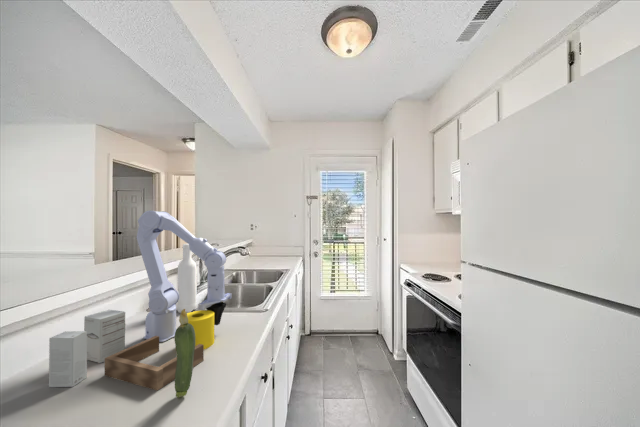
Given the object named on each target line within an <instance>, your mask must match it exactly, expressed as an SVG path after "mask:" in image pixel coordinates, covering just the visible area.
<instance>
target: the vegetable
mask: <svg viewBox="0 0 640 427" xmlns="http://www.w3.org/2000/svg"><path fill="white" fill-rule="evenodd" d="M178 321H179V324H180V325H179V326H177V327H176V332H175V337H174V344H175V345H174V346H175V351H176V357H177V366H176V372H175V379H174V390H175V397H176V398H178V399H179V398H181V397H185V396H186V395H187V393H188V390H189V389H190V387H191V381H192V378H193V377H192V376H193V369H194V367H193V359H194V351H195V330H194V327H193V326H192V325H191V324H189V323H188V317H187V312H186V311H185V309H183V310H182V312H181V313H180V314H179V319H178Z"/></svg>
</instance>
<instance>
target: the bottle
mask: <svg viewBox="0 0 640 427" xmlns="http://www.w3.org/2000/svg"><path fill="white" fill-rule="evenodd" d="M181 248H182V260H181V261H180V262H179V263H178V265H177V291H178V293H179V300H178V302H177V303H176V310H177V313H180V314H181V312H182V310H183V309H185V311H186V312H187V313H190V312H191V311H192V310H193V309H196V310H197V306H198V301H197V300H198V299H197V298H198V297H197V295H198V294H197V293H198V292H197V285H198V284H197V282H198V281H197V280H198V279H197V277H198V276H197V268H198V267H197V263H196V262H195V260H193V258H192V254H193V252H192V251H190V249H189V244H188V243H183V244H182V247H181Z"/></svg>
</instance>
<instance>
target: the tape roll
mask: <svg viewBox="0 0 640 427" xmlns="http://www.w3.org/2000/svg"><path fill="white" fill-rule="evenodd" d="M187 317H188V323H189V324H191V325H192V326H193V327H194V330H195V346H197V345H198V344H202V345H204V350H207V349H208V348H210V347H212V346H214V344H215V325H214V312H213V311H209V310H207V309H205V310H195V311H193V312H189V313H187Z"/></svg>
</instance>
